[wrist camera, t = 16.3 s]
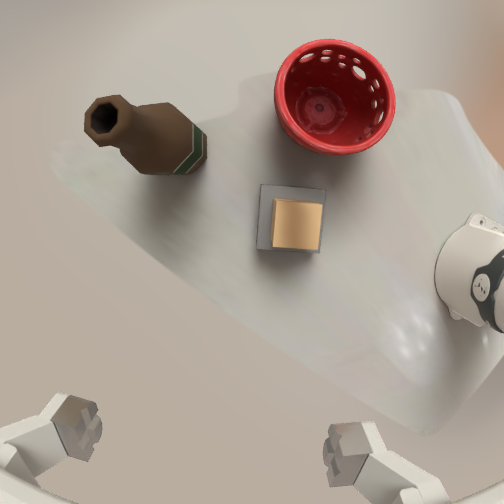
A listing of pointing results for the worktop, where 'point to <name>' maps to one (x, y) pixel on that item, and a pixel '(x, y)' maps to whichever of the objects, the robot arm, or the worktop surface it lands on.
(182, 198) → the worktop surface
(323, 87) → the plant pot
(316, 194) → the block
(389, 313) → the worktop surface
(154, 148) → the beer bottle
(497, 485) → the robot arm
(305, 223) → the oak cube
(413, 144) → the worktop surface
